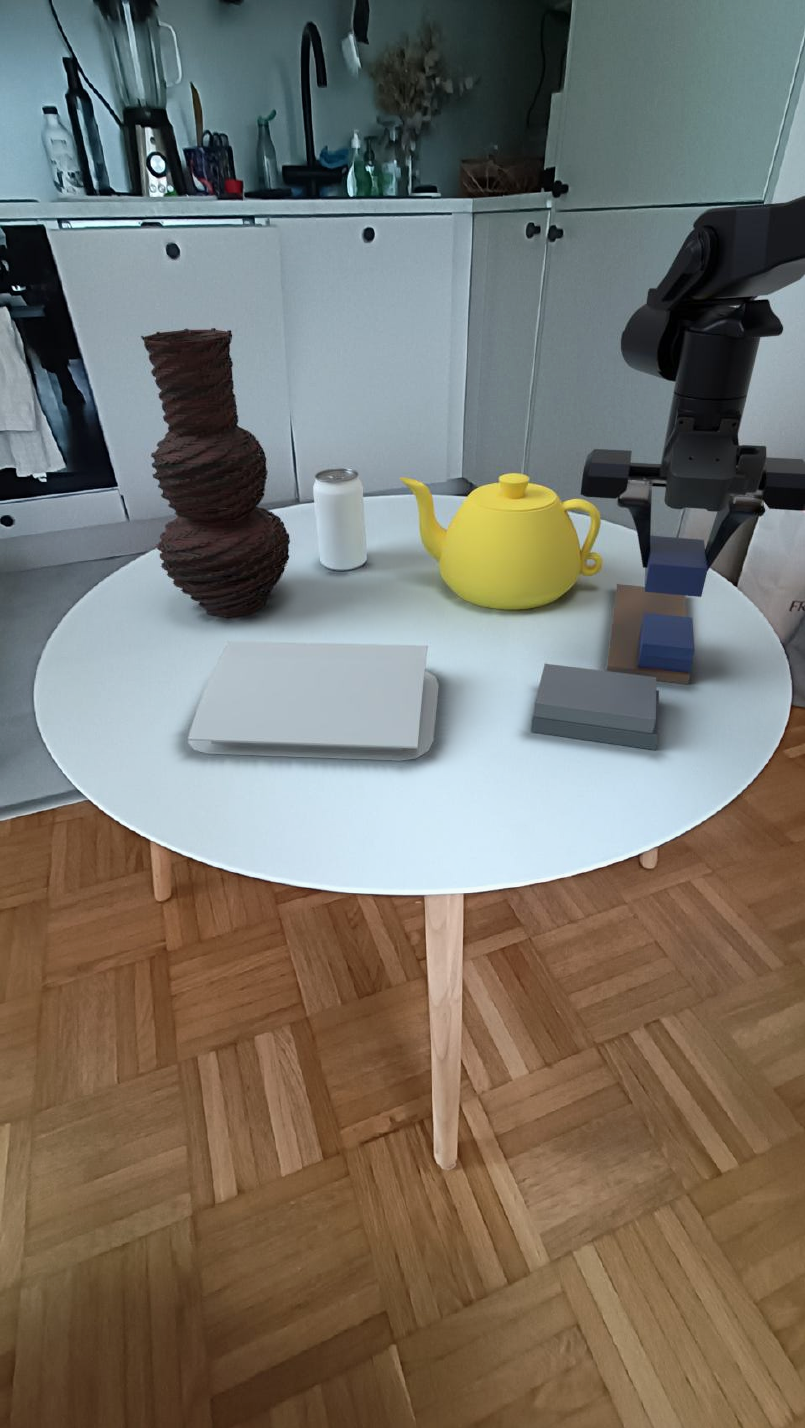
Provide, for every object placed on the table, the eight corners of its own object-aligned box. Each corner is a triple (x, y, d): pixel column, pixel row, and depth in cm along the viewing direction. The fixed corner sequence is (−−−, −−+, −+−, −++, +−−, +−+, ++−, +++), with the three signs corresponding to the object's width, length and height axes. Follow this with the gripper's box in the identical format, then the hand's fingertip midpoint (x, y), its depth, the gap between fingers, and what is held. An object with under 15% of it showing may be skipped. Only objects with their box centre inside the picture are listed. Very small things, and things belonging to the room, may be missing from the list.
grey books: (656, 703, 69) (662, 675, 67) (655, 750, 63) (662, 721, 61) (541, 688, 72) (544, 661, 70) (530, 732, 66) (533, 703, 64)
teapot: (390, 609, 87) (385, 498, 79) (414, 552, 101) (412, 452, 93) (602, 621, 83) (619, 504, 75) (596, 559, 97) (610, 456, 89)
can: (356, 549, 103) (350, 464, 96) (374, 565, 98) (369, 477, 91) (313, 558, 100) (304, 472, 93) (330, 575, 96) (322, 485, 89)
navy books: (639, 634, 78) (643, 611, 77) (688, 639, 77) (693, 616, 75) (637, 667, 73) (642, 643, 71) (689, 673, 71) (695, 649, 70)
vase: (146, 624, 86) (72, 344, 68) (211, 572, 98) (163, 323, 80) (262, 640, 82) (214, 347, 64) (315, 584, 94) (287, 324, 76)
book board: (683, 597, 87) (685, 590, 87) (687, 684, 72) (690, 676, 71) (616, 591, 89) (617, 583, 89) (605, 674, 74) (607, 666, 73)
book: (227, 664, 77) (221, 632, 75) (440, 670, 75) (440, 637, 73) (178, 753, 65) (168, 718, 63) (431, 762, 63) (431, 726, 61)
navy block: (645, 562, 72) (650, 535, 70) (698, 566, 71) (704, 539, 69) (644, 592, 67) (649, 563, 65) (701, 597, 65) (708, 568, 64)
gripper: (586, 411, 55) (565, 595, 64) (856, 421, 51) (793, 618, 60) (596, 381, 64) (576, 548, 73) (828, 388, 59) (776, 564, 68)
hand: (673, 568), depth 68 cm, fingers closed on navy block, 5 cm apart
